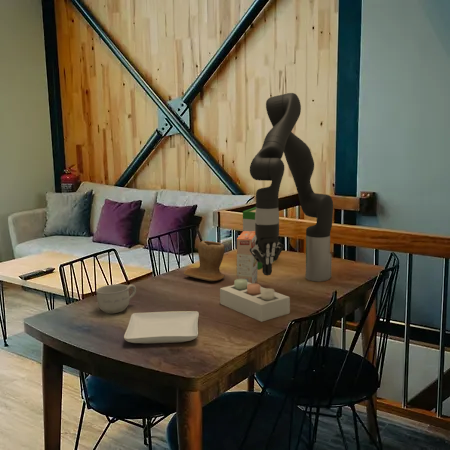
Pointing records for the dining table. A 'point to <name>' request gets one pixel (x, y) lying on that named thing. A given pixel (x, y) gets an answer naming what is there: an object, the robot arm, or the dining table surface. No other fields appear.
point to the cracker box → (246, 257)
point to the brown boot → (208, 262)
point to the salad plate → (162, 327)
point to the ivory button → (267, 294)
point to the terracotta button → (253, 289)
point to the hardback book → (250, 225)
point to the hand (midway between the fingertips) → (267, 274)
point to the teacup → (114, 297)
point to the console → (254, 303)
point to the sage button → (240, 284)
